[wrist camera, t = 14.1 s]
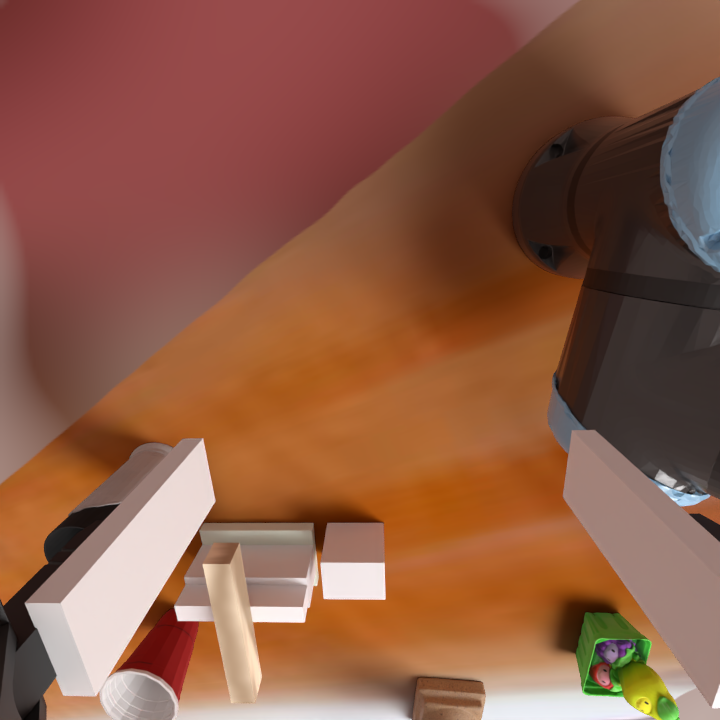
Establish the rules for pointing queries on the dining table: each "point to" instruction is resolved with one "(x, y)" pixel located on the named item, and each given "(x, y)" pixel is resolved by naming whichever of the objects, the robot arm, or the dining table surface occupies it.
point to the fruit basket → (621, 665)
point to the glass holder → (107, 495)
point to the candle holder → (448, 699)
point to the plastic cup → (152, 673)
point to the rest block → (353, 561)
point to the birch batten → (233, 620)
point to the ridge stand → (258, 570)
